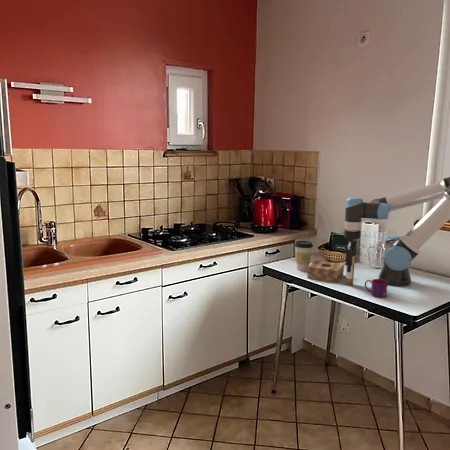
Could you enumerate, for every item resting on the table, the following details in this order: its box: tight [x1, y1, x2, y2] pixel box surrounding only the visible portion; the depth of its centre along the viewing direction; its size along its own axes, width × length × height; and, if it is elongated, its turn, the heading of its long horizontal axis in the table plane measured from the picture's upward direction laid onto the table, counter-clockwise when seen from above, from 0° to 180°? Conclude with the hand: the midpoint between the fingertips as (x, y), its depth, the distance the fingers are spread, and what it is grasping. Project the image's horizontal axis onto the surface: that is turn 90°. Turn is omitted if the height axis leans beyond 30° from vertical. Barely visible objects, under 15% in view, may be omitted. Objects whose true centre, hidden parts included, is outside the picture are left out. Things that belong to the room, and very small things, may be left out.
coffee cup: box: [294, 240, 314, 272], centre depth 246 cm, size 10×10×15 cm
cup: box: [364, 278, 389, 299], centre depth 208 cm, size 7×10×7 cm
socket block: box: [306, 259, 345, 283], centre depth 234 cm, size 15×14×6 cm
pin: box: [345, 256, 356, 286], centre depth 221 cm, size 4×4×14 cm
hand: (349, 276), depth 222 cm, fingers closed on pin, 3 cm apart
